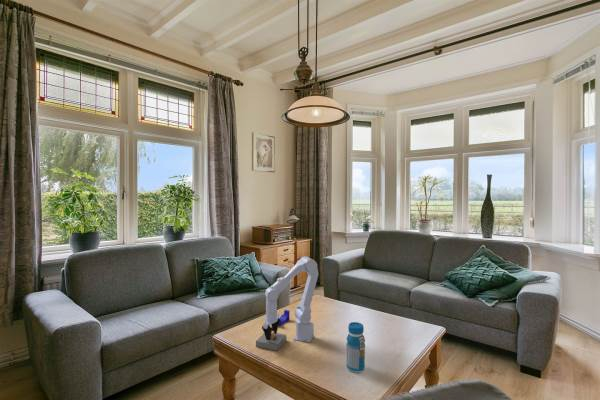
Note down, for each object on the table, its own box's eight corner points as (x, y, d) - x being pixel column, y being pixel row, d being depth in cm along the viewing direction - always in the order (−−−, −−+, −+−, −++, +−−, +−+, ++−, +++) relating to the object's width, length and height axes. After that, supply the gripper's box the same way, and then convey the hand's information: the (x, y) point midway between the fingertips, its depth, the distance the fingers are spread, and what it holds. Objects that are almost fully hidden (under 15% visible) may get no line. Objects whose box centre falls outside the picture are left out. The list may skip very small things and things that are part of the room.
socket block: (286, 340, 168) (286, 334, 168) (276, 351, 157) (276, 345, 157) (266, 336, 172) (266, 331, 172) (255, 346, 161) (255, 340, 161)
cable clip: (283, 318, 197) (283, 309, 196) (289, 320, 194) (289, 310, 194) (271, 325, 187) (271, 315, 187) (277, 327, 184) (277, 317, 184)
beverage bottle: (347, 373, 138) (348, 329, 137) (344, 362, 147) (345, 320, 146) (366, 373, 138) (367, 329, 137) (362, 362, 147) (363, 321, 146)
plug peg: (274, 342, 166) (274, 331, 165) (272, 345, 163) (272, 333, 163) (269, 341, 167) (269, 330, 166) (266, 344, 164) (266, 332, 164)
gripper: (270, 305, 172) (270, 329, 173) (258, 315, 159) (258, 341, 159) (282, 307, 170) (282, 331, 170) (270, 317, 156) (270, 343, 157)
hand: (271, 336), depth 164 cm, fingers open, 7 cm apart
